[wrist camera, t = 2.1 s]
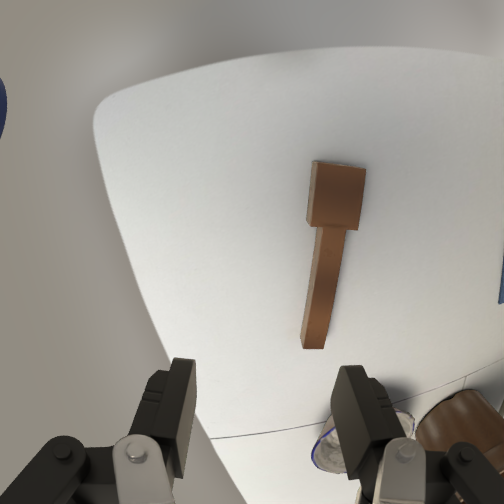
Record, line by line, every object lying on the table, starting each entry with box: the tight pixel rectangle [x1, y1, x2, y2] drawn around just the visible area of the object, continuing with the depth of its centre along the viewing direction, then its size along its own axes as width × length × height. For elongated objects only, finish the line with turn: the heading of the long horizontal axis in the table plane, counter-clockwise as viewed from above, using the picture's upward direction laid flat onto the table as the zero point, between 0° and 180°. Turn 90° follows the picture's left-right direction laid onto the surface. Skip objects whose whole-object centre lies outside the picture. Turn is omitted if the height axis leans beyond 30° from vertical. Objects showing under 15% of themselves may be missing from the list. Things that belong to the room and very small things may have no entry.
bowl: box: [311, 408, 415, 474], centre depth 33 cm, size 13×13×5 cm
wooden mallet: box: [300, 161, 366, 349], centre depth 27 cm, size 16×4×2 cm, turn 176°
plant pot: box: [416, 390, 504, 504], centre depth 29 cm, size 16×16×16 cm
